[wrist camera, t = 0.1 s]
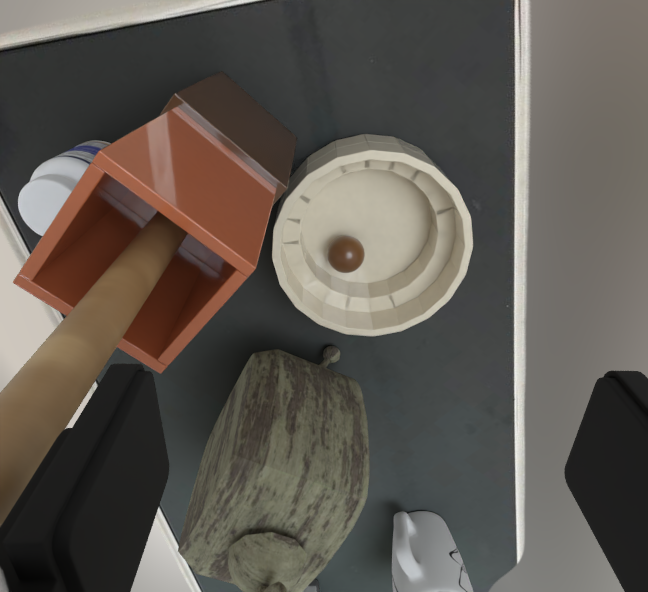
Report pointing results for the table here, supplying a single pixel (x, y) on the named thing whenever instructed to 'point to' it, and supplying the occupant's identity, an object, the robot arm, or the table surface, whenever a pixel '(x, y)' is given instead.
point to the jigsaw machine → (312, 586)
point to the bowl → (371, 235)
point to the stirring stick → (76, 356)
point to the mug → (426, 555)
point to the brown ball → (345, 254)
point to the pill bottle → (55, 184)
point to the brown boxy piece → (171, 213)
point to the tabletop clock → (279, 475)
